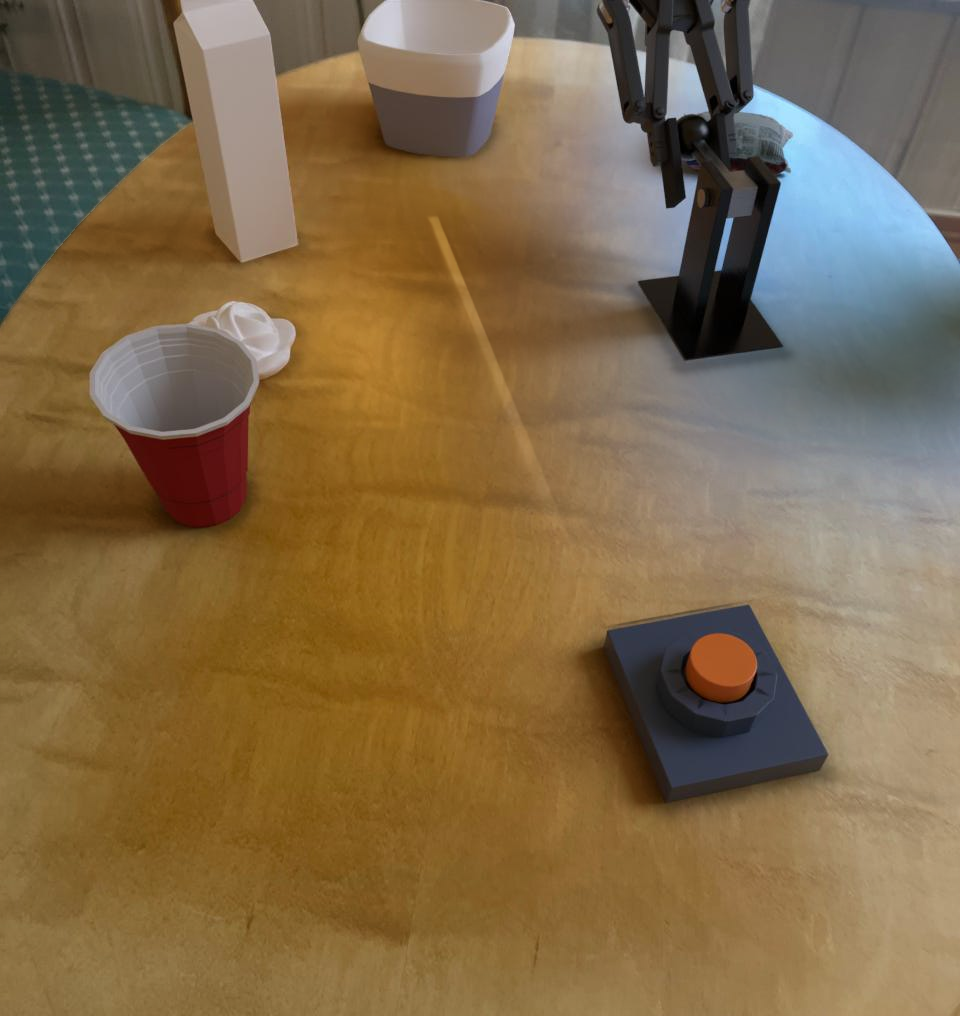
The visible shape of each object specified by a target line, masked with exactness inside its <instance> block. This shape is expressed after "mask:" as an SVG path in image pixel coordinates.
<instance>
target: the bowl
mask: <svg viewBox="0 0 960 1016" xmlns="http://www.w3.org/2000/svg"><path fill="white" fill-rule="evenodd" d="M515 26H516V24H515V21H514V18H513V16H512V13H511V11H510V10H509V8H508V6H505V5H501V4H498V3H495V2H491V1H486V0H384V1H382V3H380V4H379V5H378V6H376V7H375V8H374V9H373V10H372V11H371V12H370V13H369V15H368V16H367V18H366V19H365V21H364V22H363V25H362V27H361V28H360V29H361V30H360V32H359V35H358V39H357V47H358V52H359V56H360V60H361V63H362V67H363V71H364V74H365V77H366V81H367V83H368V87H369V91H370V94H371V98H372V101H373V105H374V108H375V109H374V110H375V113H376V115H377V120H378V123H379V126H380V131H381V133H382V138H383V142H384V144H385V145H386V146H388V147H391V148H392V149H396V150H400V151H404V152H408V153H413V154H418V155H423V156H432V157H445V158H465V157H471V156H473V155H474V154H476V153H478V151H479V150H480V149H481V148H483V146H484V145H485V144H486V142H487V141H488V140H489V138H490V136H491V133H492V129H493V125H494V120H495V117H496V111H497V109H498V108H497V107H498V102H499V99H500V93H501V89H502V85H503V81H504V76H505V72H506V68H507V65H508V60H509V56H510V52H511V48H512V43H513V39H514V34H515Z"/></svg>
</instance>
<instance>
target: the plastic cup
mask: <svg viewBox="0 0 960 1016" xmlns="http://www.w3.org/2000/svg"><path fill="white" fill-rule="evenodd" d="M259 384H260V380H259V375H258V368H257V360H256V359H255V358H254V356H253V355H252V354H251V353H250V351H249V350H248V349H247V348H246V347H245V345H244V344H243V343H242V342H241V341H239V340H237V339H235V338H233V337H231V336H230V335H228V334H226V333H224V332H222V331H220V330H218V329H214V328H208V327H203V326H197V325H192V324H187V323H179V324H178V323H177V324H162V325H154V326H151V327H148V328H145V329H142V330H139V331H136V332H133V333H130V334H127V335H125V336H124V337H123V336H122V338H120V339H119V340H117V341H116V342H114V343H113V344H112V345H110V346H109V347H108V348H106V349H105V350H104V351H102V352H101V354H100V356H99V357H98V358H97V361H96V362H95V364H94V366H93V367H92V368H91V370H90V372H89V397H90V398H91V400H92V401H93V402H94V403H93V404H95V406H96V407H97V408H98V410H99V412H100V413H101V414H102V417H104V419H105V420H106V421H108V422H109V423H111V424H113V426H114V427H115V429H116V430H117V431H118V433H119V434H120V436H121V437H122V439H123V440H124V442H125V444H126V446H127V447H128V449H129V450H130V452H131V454H132V457H134V460H135V461H136V463H137V464H138V467H139V468H140V470H141V472H142V473H143V475H144V477H145V479H146V480H147V482H148V484H149V485H150V487H151V488H152V489H153V491H154V492H155V494H156V495H157V497H158V499H159V501H160V502H161V505H162V506H163V508H164V510H165V511H166V512H167V514H168V515H169V516H170V518H172V519H173V520H174V521H176V522H178V523H179V524H182V525H183V526H186V527H192V528H200V529H203V528H208V527H209V528H210V527H216V526H218V525H221V524H223V523H226V522H227V521H230V520H232V519H233V518H234V517H235V516H236V515H237V514H238V513H240V512H241V510H242V509H243V506H244V504H245V502H246V499H247V497H248V491H247V490H248V489H247V488H248V487H247V485H248V484H247V483H248V482H247V472H248V471H249V417H250V414H251V404H252V401H253V398H254V397H255V394H256V392H257V389H258V387H259V386H260V385H259Z"/></svg>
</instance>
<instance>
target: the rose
mask: <svg viewBox="0 0 960 1016" xmlns="http://www.w3.org/2000/svg"><path fill="white" fill-rule="evenodd" d="M186 324H192V325H197V326H203V327H208V328H214V329H218V330H220V331H222V332H224V333H226V334H228V335H230V336H231V337H233V338H235V339H237V340H239V341H241V342H242V343H243V344H244V345H245V347H246V348H247V349H248V350H249V351H250V353H251V354H252V355H253V356H254V358H255V359H256V360H257V368H258V375H259V381H261V380H262V381H263V380H265V379H268V378H270V377H272V376H275V375H276V374H278V373H279V372H280V371H281V370H283V369H284V368H285V366H287V364H288V363H289V361H290V359H291V348H292V346H293V345H294V342H295V340H296V336H297V334H296V333H297V332H296V328H295V325H294V324H293V323H292V322H291V321H290V320H288V319H286V318H282V317H281V318H273V317H270V316H269V315H268V313H267V312H266V311H265V310H264V309H262V308H261V307H259V306H257V305H255V304H253V303H250V302H243V301H233V300H231V301H228V302H225V303H224V304H223V305H222V306H220V307H219V309H217V310H211V311H207V312H203V313H201V314H198V315H196V316H194V317H193V318H192V319H191V321H189V322H187V323H186Z"/></svg>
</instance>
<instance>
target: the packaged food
mask: <svg viewBox="0 0 960 1016" xmlns="http://www.w3.org/2000/svg"><path fill="white" fill-rule="evenodd" d="M695 114H696V115H699V116H701V117H703V118H704V119H705V120H706V121H707V122H708V121H709V120H710V119H711V117H710V114H709V110H708V111H703V112H698V113H695ZM685 115H686V112H684V113H683V116H685ZM734 124H735V132H736V141H737V150H736V153H735V154H734V155H733V156H732V157H730V158H729V159H730V168H731V172H733V171H742V170H745V166H746V162H747V158H748V157H755V156H759V157H760V158H761V160H762V161H763V162H764V163H765V164H766V166H767V167H768V168H769V169H770V170H771V172H772V173H773V174H774V175H775V176H777V175H779V174H782V173H784V172H786V173H787V174H791V173H792V170H791V167H790V165H789V163H788V161H787V159H786V158H785V154H784V147H785V146H786V145H787V143H788V141H789V140H791V139H792V138H793V137H794V132H793V131H791V130H789V129H787V128H786V127H785V126H784V125H783V124H780V123H779V122H778V121H777V120H776V119H775V118H773V117H771V116H768V115H764V114H759V113H752V112H743V111H740V112H738V113H735V114H734ZM683 161H684V162H686V164H687V165H688V166H689V167H691V168H692V169H693V170H698V171H699V170H700V164H699V163H698V162H697V160H696V159H695V160H691V161H685V160H683Z"/></svg>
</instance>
